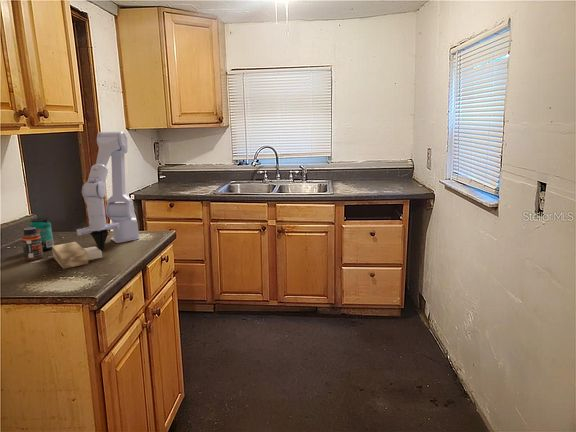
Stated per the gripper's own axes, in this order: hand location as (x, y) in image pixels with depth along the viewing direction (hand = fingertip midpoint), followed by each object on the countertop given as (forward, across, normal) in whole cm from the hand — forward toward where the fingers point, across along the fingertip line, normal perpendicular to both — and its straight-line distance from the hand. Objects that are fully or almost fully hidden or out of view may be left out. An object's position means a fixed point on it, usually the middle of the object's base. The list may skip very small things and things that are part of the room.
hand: (101, 250), depth 162 cm
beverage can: (+2, -15, +22) cm, 27 cm away
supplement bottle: (+2, -20, +12) cm, 24 cm away
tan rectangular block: (+1, -11, 0) cm, 11 cm away
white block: (+2, -4, 0) cm, 4 cm away
